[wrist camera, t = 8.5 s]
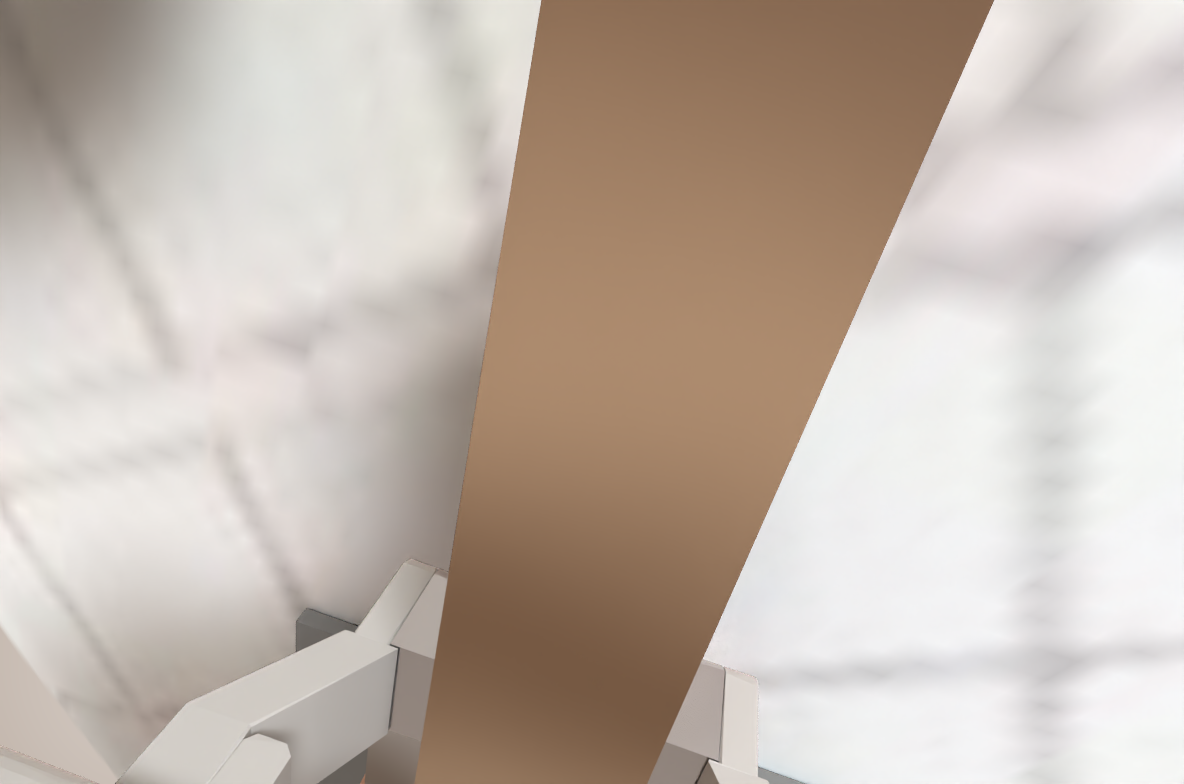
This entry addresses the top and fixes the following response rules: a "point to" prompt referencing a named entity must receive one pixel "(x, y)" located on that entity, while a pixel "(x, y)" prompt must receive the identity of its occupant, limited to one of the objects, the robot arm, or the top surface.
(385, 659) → the robot arm
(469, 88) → the top surface
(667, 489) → the turner
